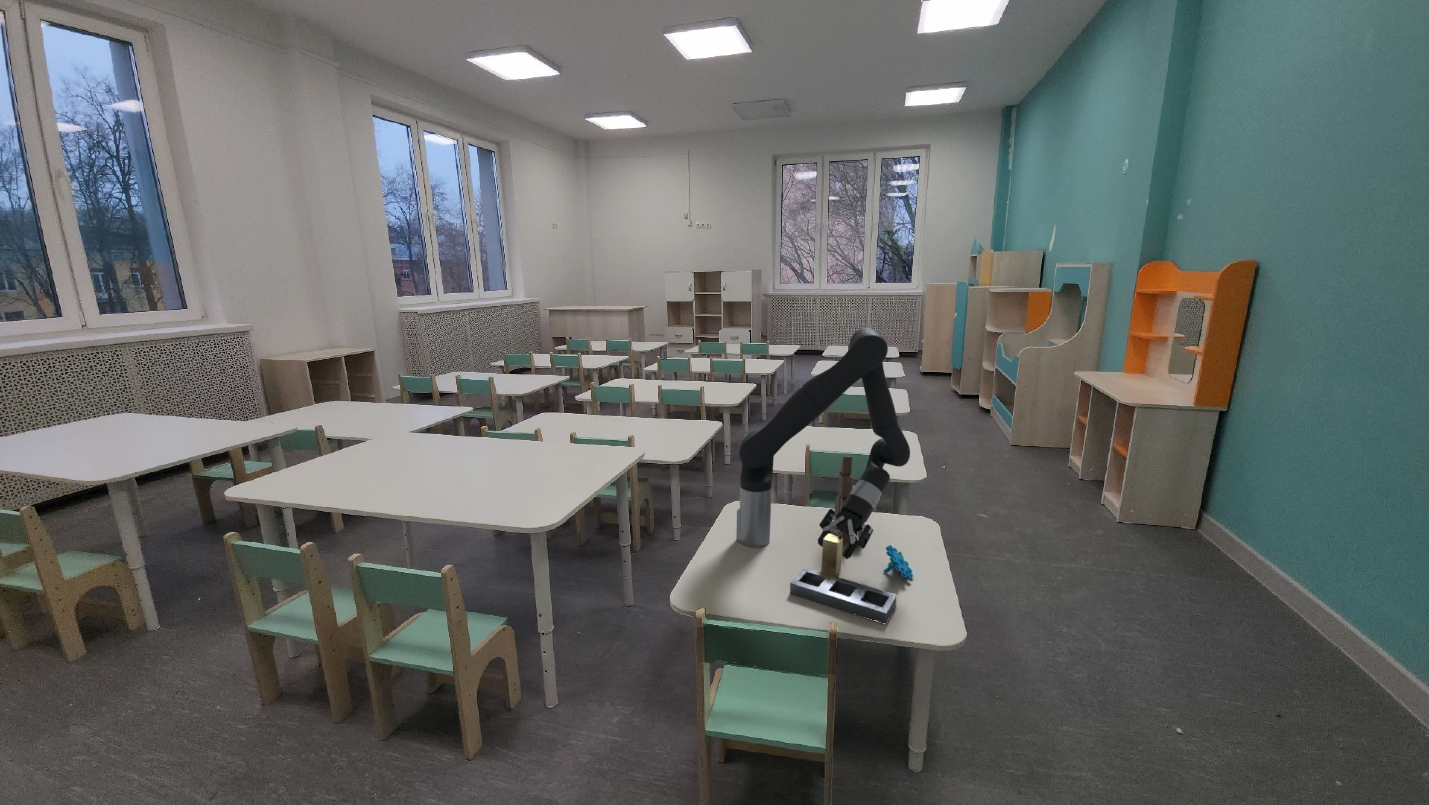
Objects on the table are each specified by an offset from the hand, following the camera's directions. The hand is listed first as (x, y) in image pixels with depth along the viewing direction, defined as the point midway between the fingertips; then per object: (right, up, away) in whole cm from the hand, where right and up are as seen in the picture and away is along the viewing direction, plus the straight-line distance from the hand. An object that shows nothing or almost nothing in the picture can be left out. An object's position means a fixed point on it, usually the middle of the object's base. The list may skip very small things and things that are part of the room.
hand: (832, 551), depth 154 cm
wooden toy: (+10, -1, +24) cm, 26 cm away
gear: (+18, -7, +1) cm, 19 cm away
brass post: (0, -6, +1) cm, 6 cm away
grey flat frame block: (0, -9, -11) cm, 14 cm away
